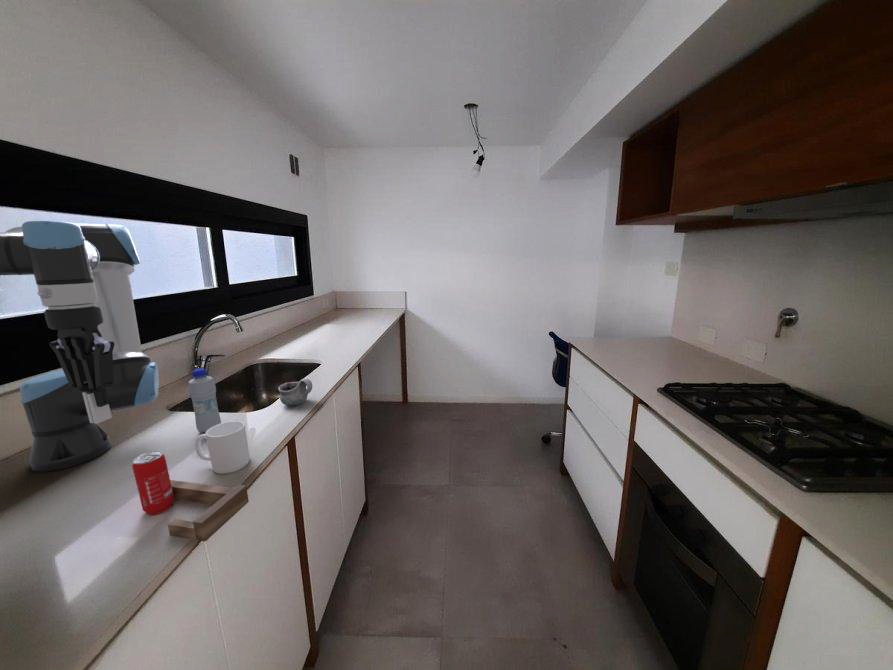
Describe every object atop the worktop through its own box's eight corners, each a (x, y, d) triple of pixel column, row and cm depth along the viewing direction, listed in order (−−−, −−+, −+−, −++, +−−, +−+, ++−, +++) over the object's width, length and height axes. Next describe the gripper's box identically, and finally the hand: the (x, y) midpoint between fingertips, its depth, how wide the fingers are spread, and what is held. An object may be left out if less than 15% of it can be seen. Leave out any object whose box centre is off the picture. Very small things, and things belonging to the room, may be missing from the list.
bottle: (191, 434, 106) (179, 371, 102) (213, 424, 112) (202, 364, 108) (206, 438, 104) (194, 373, 99) (228, 428, 110) (217, 366, 105)
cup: (240, 473, 86) (234, 435, 84) (189, 476, 85) (181, 438, 83) (255, 455, 94) (250, 420, 92) (208, 457, 93) (202, 422, 91)
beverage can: (157, 518, 72) (145, 465, 69) (137, 515, 73) (124, 463, 70) (181, 501, 77) (170, 451, 74) (161, 498, 78) (150, 449, 75)
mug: (290, 398, 133) (287, 372, 130) (321, 399, 131) (319, 373, 129) (274, 409, 123) (271, 381, 121) (308, 410, 121) (305, 382, 119)
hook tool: (117, 527, 70) (113, 509, 69) (170, 491, 80) (166, 475, 79) (205, 541, 66) (201, 523, 65) (248, 501, 76) (246, 485, 75)
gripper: (19, 308, 65) (53, 426, 70) (75, 309, 62) (106, 431, 68) (69, 303, 72) (96, 410, 77) (121, 303, 70) (146, 414, 75)
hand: (101, 420), depth 73 cm, fingers closed
